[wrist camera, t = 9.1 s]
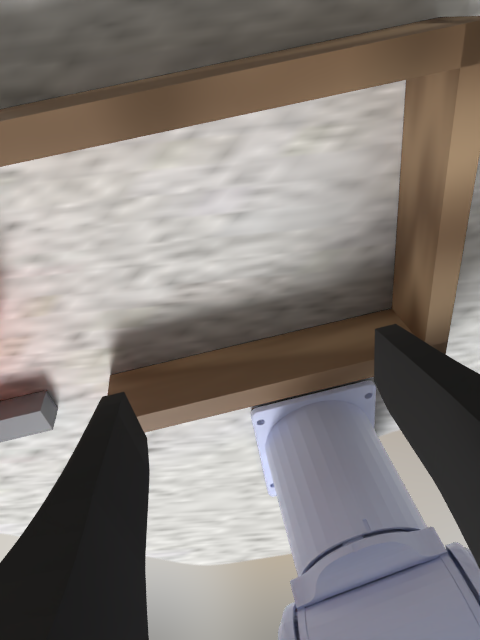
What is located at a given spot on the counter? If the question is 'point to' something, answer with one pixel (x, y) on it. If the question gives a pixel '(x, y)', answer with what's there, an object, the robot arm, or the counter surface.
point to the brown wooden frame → (275, 91)
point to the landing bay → (26, 415)
